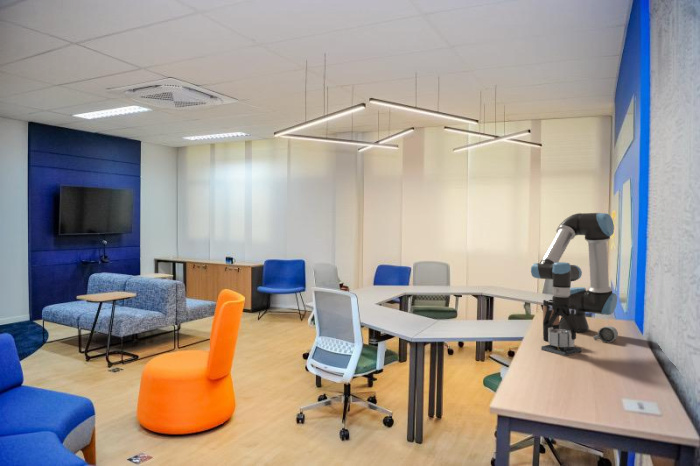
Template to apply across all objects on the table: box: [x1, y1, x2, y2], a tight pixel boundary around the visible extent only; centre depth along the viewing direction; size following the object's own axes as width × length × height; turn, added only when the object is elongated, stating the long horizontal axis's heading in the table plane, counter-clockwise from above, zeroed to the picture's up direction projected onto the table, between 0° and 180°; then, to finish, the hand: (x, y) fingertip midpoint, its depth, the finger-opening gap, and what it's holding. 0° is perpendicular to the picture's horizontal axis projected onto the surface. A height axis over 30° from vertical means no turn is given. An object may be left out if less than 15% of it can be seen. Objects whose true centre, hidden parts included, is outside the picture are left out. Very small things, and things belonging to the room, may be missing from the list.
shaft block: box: [540, 330, 582, 357], centre depth 217 cm, size 12×12×10 cm
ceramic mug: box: [592, 325, 619, 344], centre depth 235 cm, size 11×8×8 cm
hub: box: [548, 329, 571, 347], centre depth 217 cm, size 10×10×6 cm
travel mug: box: [542, 299, 560, 342], centre depth 235 cm, size 8×8×20 cm
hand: (560, 343), depth 217 cm, fingers closed on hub, 10 cm apart
